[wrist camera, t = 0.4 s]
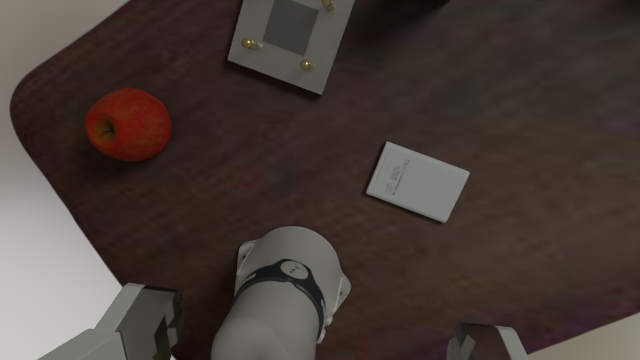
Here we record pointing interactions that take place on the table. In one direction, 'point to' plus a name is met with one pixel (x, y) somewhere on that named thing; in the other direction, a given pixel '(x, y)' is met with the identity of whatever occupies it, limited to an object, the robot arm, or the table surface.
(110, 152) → the apple
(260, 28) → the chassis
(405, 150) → the external hard drive
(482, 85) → the table surface
